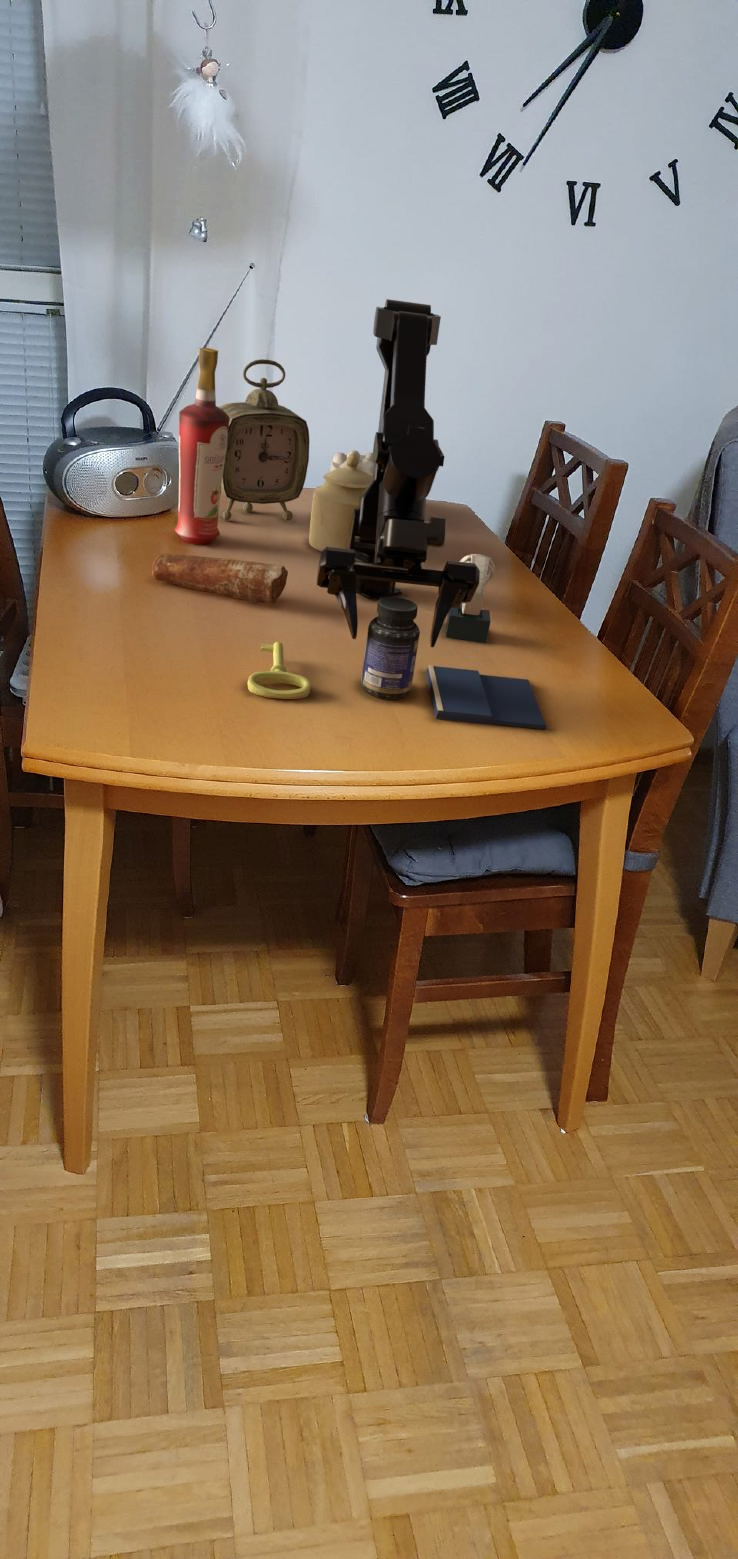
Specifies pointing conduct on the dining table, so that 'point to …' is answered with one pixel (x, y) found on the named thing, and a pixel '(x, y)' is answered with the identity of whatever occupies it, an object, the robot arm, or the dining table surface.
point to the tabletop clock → (264, 449)
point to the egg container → (364, 465)
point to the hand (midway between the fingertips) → (393, 641)
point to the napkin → (483, 698)
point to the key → (278, 677)
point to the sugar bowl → (336, 505)
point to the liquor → (201, 457)
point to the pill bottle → (391, 649)
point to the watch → (472, 606)
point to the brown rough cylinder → (223, 576)
